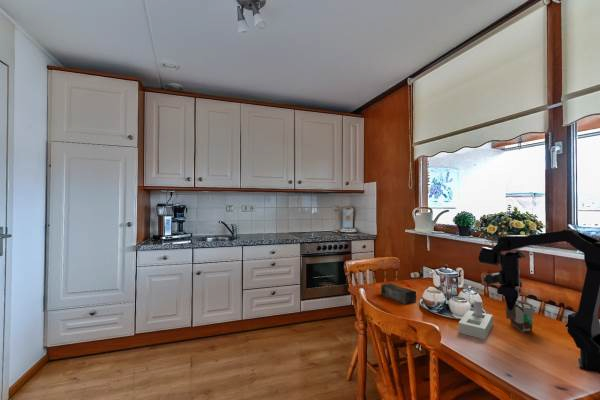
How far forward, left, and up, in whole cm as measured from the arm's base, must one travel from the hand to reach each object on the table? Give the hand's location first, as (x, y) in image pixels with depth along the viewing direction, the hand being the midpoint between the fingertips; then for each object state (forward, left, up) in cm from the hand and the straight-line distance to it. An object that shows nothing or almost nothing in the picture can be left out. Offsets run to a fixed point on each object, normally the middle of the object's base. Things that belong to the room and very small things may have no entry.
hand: (510, 308), depth 108 cm
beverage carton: (+17, +52, -12) cm, 56 cm away
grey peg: (+5, +12, -11) cm, 17 cm away
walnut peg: (0, 0, -4) cm, 4 cm away
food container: (+14, -3, -11) cm, 18 cm away
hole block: (+1, +12, -11) cm, 16 cm away
